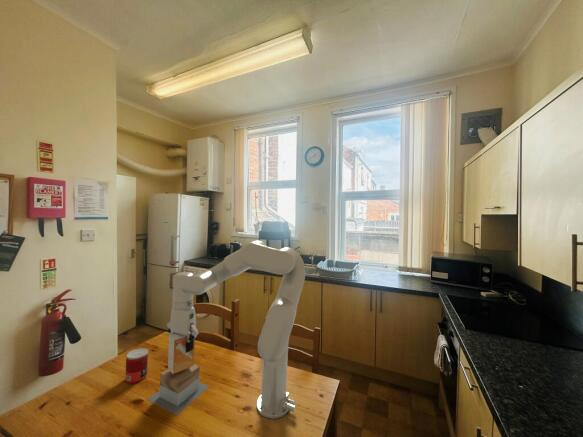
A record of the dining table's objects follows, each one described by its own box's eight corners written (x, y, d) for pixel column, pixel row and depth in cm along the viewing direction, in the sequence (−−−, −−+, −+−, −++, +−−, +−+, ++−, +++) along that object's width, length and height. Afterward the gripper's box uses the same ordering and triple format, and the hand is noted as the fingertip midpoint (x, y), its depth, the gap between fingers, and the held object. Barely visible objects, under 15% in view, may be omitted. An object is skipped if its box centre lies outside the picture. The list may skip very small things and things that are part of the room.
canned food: (145, 382, 99) (146, 356, 99) (122, 386, 96) (123, 359, 96) (148, 371, 106) (149, 346, 106) (127, 374, 103) (128, 349, 103)
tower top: (199, 377, 95) (199, 366, 95) (178, 393, 86) (178, 381, 86) (181, 370, 100) (182, 359, 100) (159, 385, 91) (160, 373, 91)
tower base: (198, 388, 95) (199, 377, 95) (177, 406, 86) (178, 393, 86) (181, 381, 100) (181, 370, 100) (159, 396, 90) (159, 385, 91)
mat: (209, 387, 97) (209, 386, 97) (176, 416, 82) (176, 415, 82) (182, 376, 104) (182, 374, 104) (146, 400, 89) (146, 399, 89)
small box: (172, 375, 88) (173, 340, 88) (167, 367, 93) (168, 334, 93) (194, 366, 94) (195, 333, 94) (188, 359, 98) (189, 328, 98)
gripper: (206, 304, 93) (205, 349, 93) (175, 297, 100) (174, 338, 100) (191, 311, 86) (189, 359, 86) (159, 303, 94) (158, 347, 93)
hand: (181, 347), depth 93 cm, fingers closed on small box, 8 cm apart
